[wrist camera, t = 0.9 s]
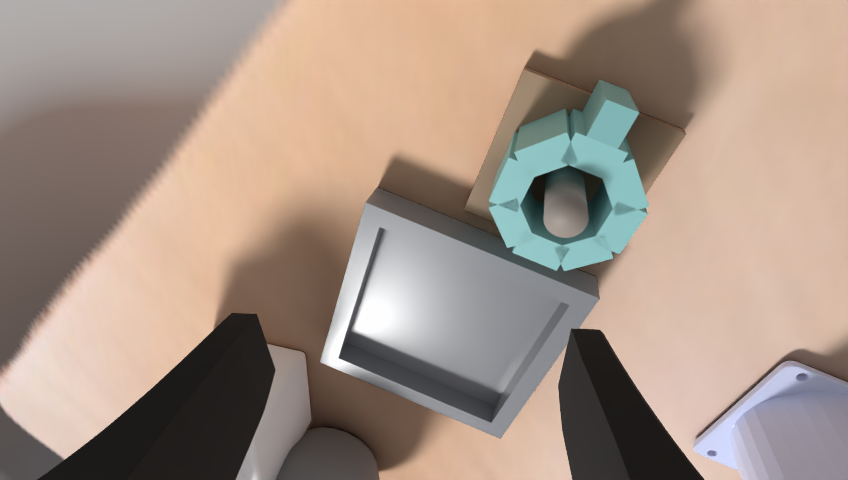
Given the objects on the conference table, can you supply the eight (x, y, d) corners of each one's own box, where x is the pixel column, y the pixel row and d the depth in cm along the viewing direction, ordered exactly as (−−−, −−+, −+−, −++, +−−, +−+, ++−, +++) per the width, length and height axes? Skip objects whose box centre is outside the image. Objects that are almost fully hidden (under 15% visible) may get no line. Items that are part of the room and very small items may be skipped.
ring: (592, 248, 23) (596, 287, 20) (482, 203, 23) (472, 236, 20) (680, 111, 19) (700, 136, 16) (547, 58, 19) (545, 75, 16)
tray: (597, 277, 24) (599, 298, 23) (503, 414, 31) (500, 438, 29) (377, 187, 24) (365, 202, 23) (331, 342, 31) (319, 362, 29)
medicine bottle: (227, 397, 37) (104, 562, 27) (211, 328, 33) (61, 489, 23) (313, 419, 36) (218, 601, 26) (307, 350, 32) (192, 530, 22)
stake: (683, 129, 20) (715, 173, 16) (597, 258, 23) (605, 320, 19) (524, 66, 20) (516, 94, 16) (465, 204, 24) (447, 255, 20)
